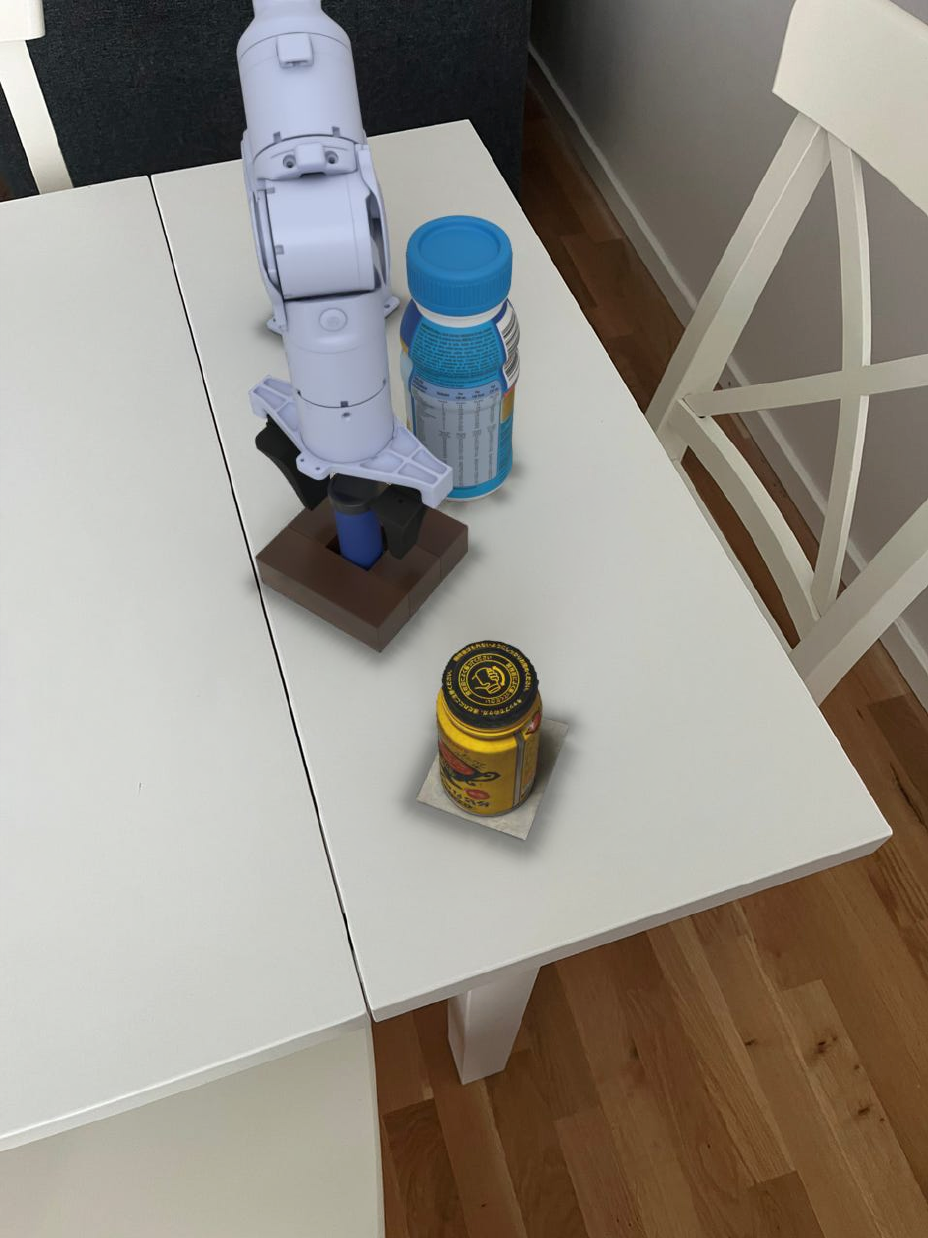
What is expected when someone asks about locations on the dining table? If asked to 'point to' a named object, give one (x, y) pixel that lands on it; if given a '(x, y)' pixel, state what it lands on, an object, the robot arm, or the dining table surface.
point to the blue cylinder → (356, 518)
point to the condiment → (492, 739)
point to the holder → (360, 572)
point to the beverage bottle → (461, 350)
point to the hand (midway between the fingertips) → (360, 524)
